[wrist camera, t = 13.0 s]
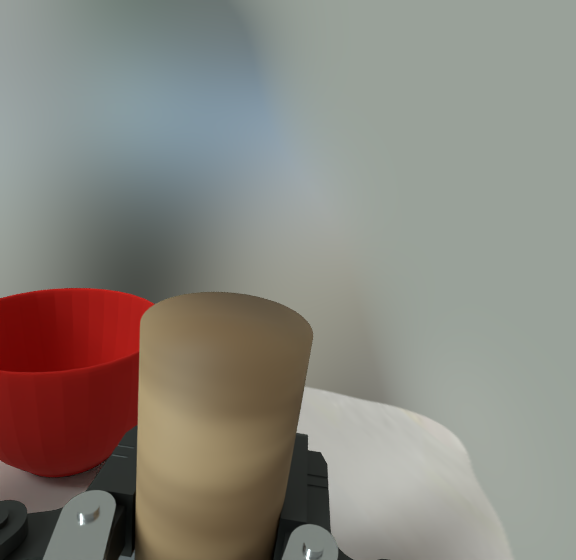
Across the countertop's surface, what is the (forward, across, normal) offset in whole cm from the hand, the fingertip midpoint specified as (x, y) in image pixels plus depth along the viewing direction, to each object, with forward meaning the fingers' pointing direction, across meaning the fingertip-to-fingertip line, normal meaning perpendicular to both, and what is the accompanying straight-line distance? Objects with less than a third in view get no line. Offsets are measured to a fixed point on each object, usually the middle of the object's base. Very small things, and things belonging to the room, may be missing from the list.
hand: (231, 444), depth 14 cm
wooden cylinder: (-3, 0, -9) cm, 9 cm away
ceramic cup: (+12, -15, -13) cm, 23 cm away
